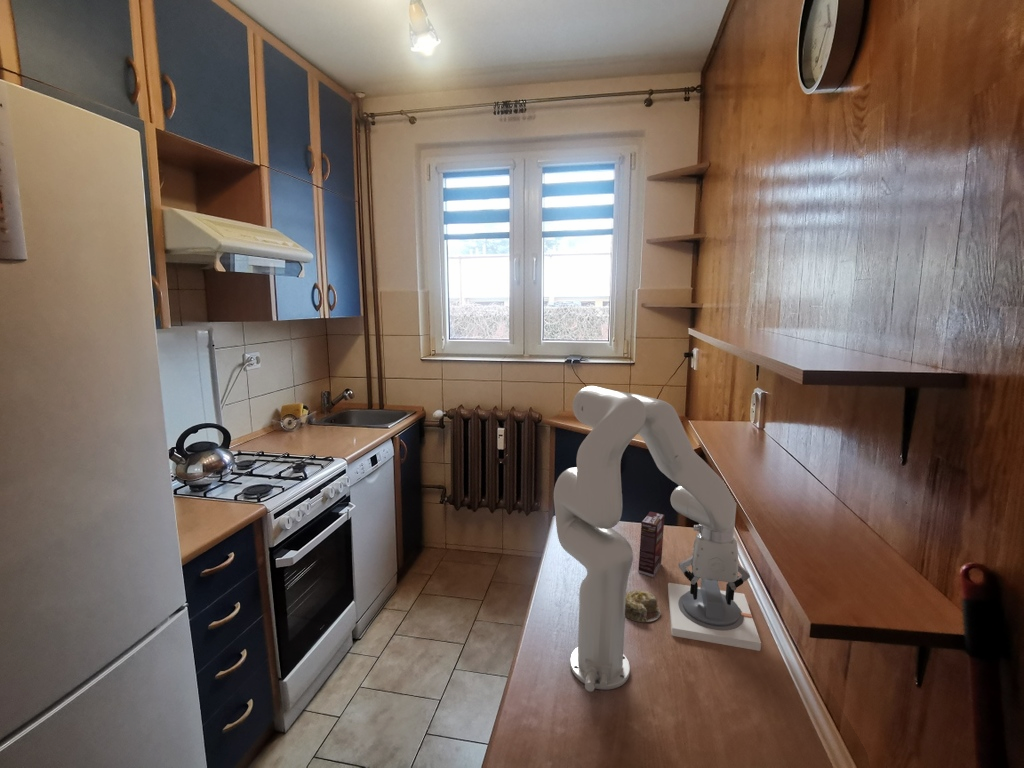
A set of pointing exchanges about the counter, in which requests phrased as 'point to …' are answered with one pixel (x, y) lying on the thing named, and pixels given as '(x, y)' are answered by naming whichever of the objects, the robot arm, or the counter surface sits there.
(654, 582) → the counter surface
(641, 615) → the cake
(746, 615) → the dial plate
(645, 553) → the supplement box
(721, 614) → the dial
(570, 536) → the robot arm
